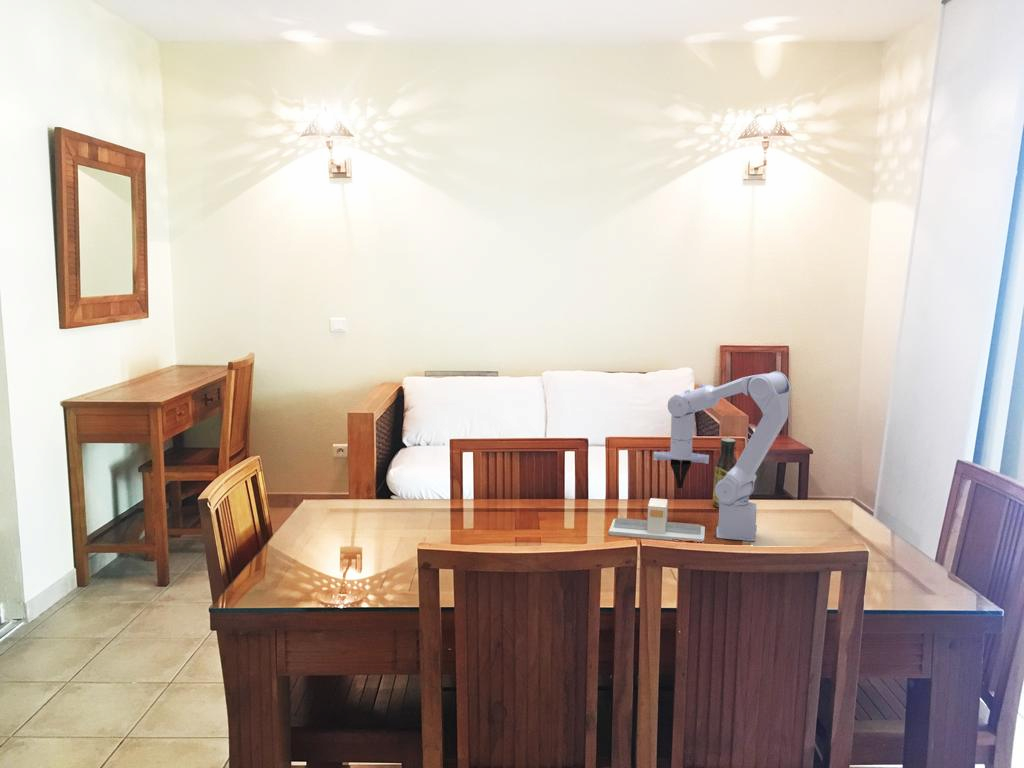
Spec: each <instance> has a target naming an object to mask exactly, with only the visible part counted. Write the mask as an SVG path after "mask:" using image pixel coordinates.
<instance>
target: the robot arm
mask: <svg viewBox="0 0 1024 768" xmlns="http://www.w3.org/2000/svg"><path fill="white" fill-rule="evenodd" d="M791 391H792V387H791V384H790V382H789V379H788V377H787V376H786V375H785V374H784V373H783V372H782V371H781V372H780V371H771V372H769V373H761V374H753V375H749V376H743V377H741V378H737V379H735V380H733V381H730V382H728V383H724V384H721V385H719V386H716V387H715V386H714V385H712V384H706V383H703V384H700V385H698V388H694V389H692V390H690V389H686V390H684V393H682V394H674V395H673V396H671V397H670V398H669V399H668V402H667V409H668V412H669V413H670V414H671V418H670V419H671V422H670V423H671V425H670V448H669V449H670V451H654V452H653V457H652V458H653V461H670V467H671V470H672V471H673V474H674V478H675V480H676V482H675V483H676V487H677V489H683V485H684V483H685V482H684V481H685V478H686V476H687V473H688V472H689V470H690V468H691V467H692V466H691V465H692V463H700V464H701V463H703V464H707V465H709V464H710V463H709V462H710V460H709V459H710V455H709V454H701V453H694V452H693V438H694V437H693V435H694V433H693V431H694V419H695V413H697V412H700V411H703V410H706V409H710V408H714V407H716V406H718V404H719V402H720V400H721V399H724V398H727V397H730V396H734V395H737V394H741V393H743V394H744V395H745V396H750V397H751V398H752V399H753V401H754V402H755V403H756V405H757V407H759V409H760V410H761V413H762V417H761V419H760V421H759V422H758V424H757V426H756V428H755V429H754V431H753V433H752V435H751V436H750V438H749V440H748V442H747V444H746V445H745V447H744V448H743V451H742V452H741V454H740V456H739V458H738V459H737V460H736V461H737V463H736V464H735V466H734V467H733V468H732V469H731V470H730V471H729V472H728V473H727V474H726V475H725V477H724V478H723V479H722V480H720V481H719V482H718V483H717V484H716V486H715V494H716V496H717V498H718V499H719V507H718V524H717V525H718V526H716V539H723V540H724V539H725V540H735V541H747V542H755V541H756V533H757V530H758V529H757V528H758V527H757V503H756V502H751V501H749V499H750V496H751V495H752V494H753V492H754V489H755V482H756V479H757V478H758V476H757V474H756V472H758V469H759V467H760V466H761V464H762V463H763V461H764V459H765V457H766V455H768V452H769V451H770V449H771V447H772V446H773V444H774V442H775V441H776V438H777V437H778V435H779V434H780V432H781V430H782V428H783V427H784V425H785V423H786V422H787V419H788V417H789V414H790V413H789V409H790V407H789V406H790V394H791V393H792V392H791Z"/></svg>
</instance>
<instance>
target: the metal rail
mask: <svg viewBox="0 0 1024 768" xmlns="http://www.w3.org/2000/svg"><path fill="white" fill-rule="evenodd" d="M614 519H615V522H614V527H616V528H628V529H639V530H647V525H648V519H638V518H637V519H635V518H624V517H615V518H614ZM701 526H702V525H701V524H700V523H699V524H697V523H688V522H687V523H685V522H673V521H667V522H666V529H665V532H675V533H687V534H699V535H700V533H701Z"/></svg>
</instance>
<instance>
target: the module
mask: <svg viewBox="0 0 1024 768" xmlns="http://www.w3.org/2000/svg"><path fill="white" fill-rule="evenodd" d="M668 502H669V501H668V499H666V498H655V497H651V498H650V499H649V500H648V505H647V520H648V525H647V532H651V533H663V534H665V529H666V522H668Z"/></svg>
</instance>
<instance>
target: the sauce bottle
mask: <svg viewBox="0 0 1024 768" xmlns="http://www.w3.org/2000/svg"><path fill="white" fill-rule="evenodd" d="M736 443H737V441H736V439H734V438H728V437H724V438H721V440H720V445H721V446H720V453H719V456H718V459H717V461H716V464H715V467H714V476H713V488H712V489H713V490H712V491H713V492H712V505H713V506H714V507H716V508H719V499H718V498H717V496H716V494H715V486H716V484H717V483H718V482H719V481H720V480H722V479H723V478H724V477H725V475H726V474H727V473H728V472H729V471H730V470H731V469H732V468H733V467H734V466H735V464H736V463H737V461H738V460H736V456H735V446H736Z"/></svg>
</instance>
